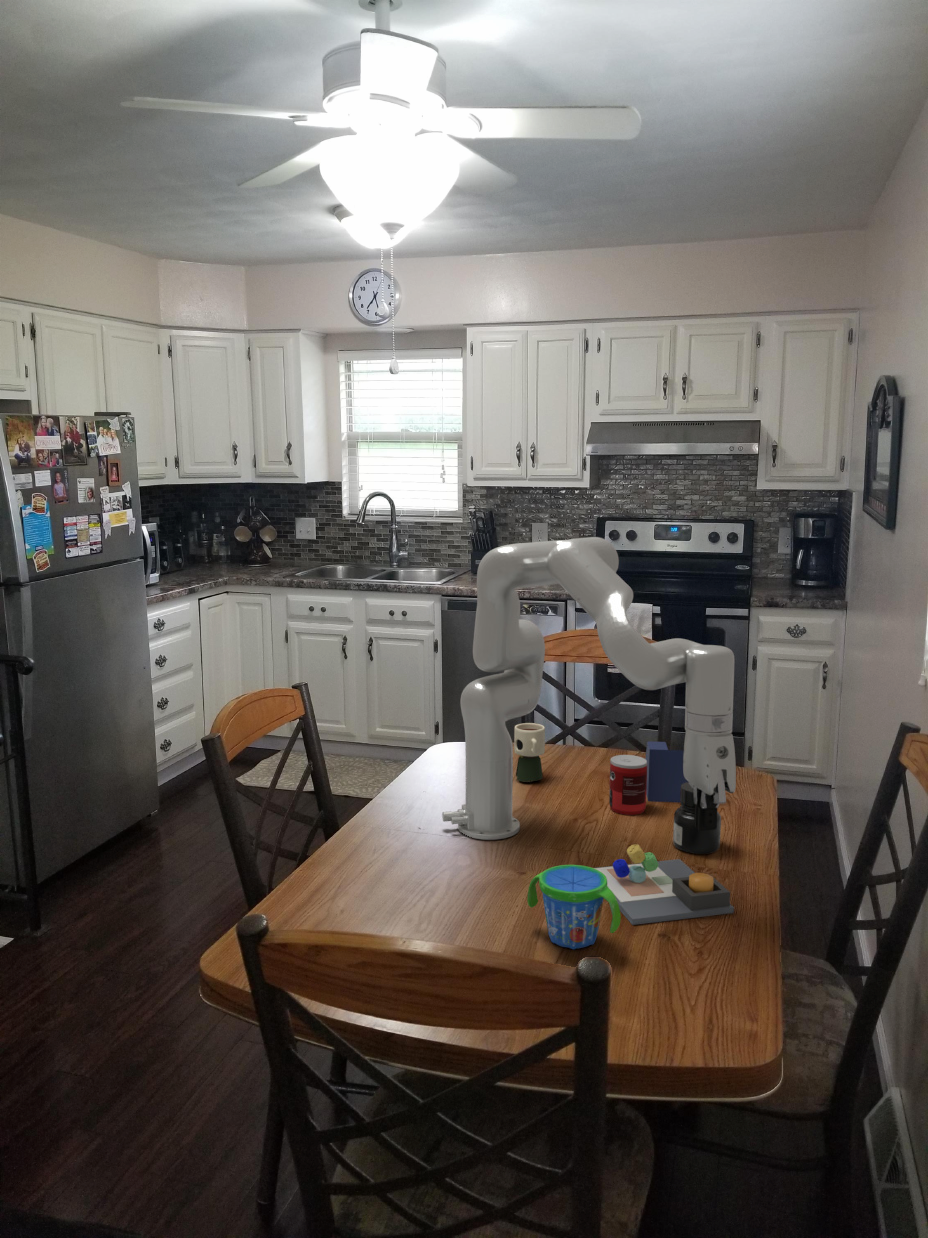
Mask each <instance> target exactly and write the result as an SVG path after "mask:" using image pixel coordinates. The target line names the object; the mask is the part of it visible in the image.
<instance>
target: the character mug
mask: <svg viewBox="0 0 928 1238" xmlns="http://www.w3.org/2000/svg"><path fill="white" fill-rule="evenodd" d="M513 737H514V746H513V749H514V750H513V752H514V753H515V754H517V755H519V756H518V758H517V765H516V769H515V770H516V772H515V778H516V780H517V781H519V782H523V783H524V782H525V783H528V782H529V783H532V782H535V781H541V780H542V779H543V778H544V776H543V768H542V760H541V759H542V758H541V757H540V756H542V755H543V754H545V749H546V748H545V747H546V745H545V744H546V742H545V741H546V740H545V739H546V738H545V737H546V726H544V725H543V724H539V723H533V722H525V723H518V724H516V725H514V736H513Z"/></svg>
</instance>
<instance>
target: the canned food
mask: <svg viewBox="0 0 928 1238" xmlns="http://www.w3.org/2000/svg"><path fill="white" fill-rule="evenodd" d="M609 761H610V763H609V803H608V805H609V808H610V810H611V812H612V811H613V812H614V813H616V814H618V815H619V814H620V815H623V816H624V815H625V816H636V815H641V814H643V813H644V812H645V810H646V807H647V795H646V788H647V760H646V759H645V758H644V757H642V756H638V755H632V754H618V755H615V756H612V757H610V760H609Z"/></svg>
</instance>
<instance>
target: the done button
mask: <svg viewBox="0 0 928 1238" xmlns="http://www.w3.org/2000/svg"><path fill="white" fill-rule="evenodd" d="M710 875H711V874H707V873H703V872H695V873H693V874H691V875H690V876H689V889H690V890H691V891H693V892H694V893H701V892H710V891H713V883H714V878H715V877H714V876H713V875H711V876H710Z"/></svg>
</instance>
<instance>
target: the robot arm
mask: <svg viewBox="0 0 928 1238" xmlns="http://www.w3.org/2000/svg"><path fill="white" fill-rule="evenodd" d="M619 562H620V560H619V554H618V552H617V550H616V548H615V546H613V544H612V543H610V541H608V540H607V539H605V538H603V537H599V536H591V537H579V538H578V537H577V538H571V539H563V540H561V539H560V540H559V539H558V540H547V541H546V540H545V541H535V542H534V541H533V542H520V543H519V542H518V543H512V544H505V545H501V546H498V547H495V548H493V549H491V550H489V551H488V552H487V553H485V555H484V556H483V557H482V559H481V560H480V562H479V564H478V567H477V570H476V571H477V573H476V592H477V596H476V597H477V603H476V610H475V611H476V612H475V621H474V629H473V630H474V631H473V643H472V657H473V661H474V664H475V666H476V667H477V668H478V669H479V670H480V671H483V672H486V673H496V674H491V675H486V676H483V677H480V678H476V679H474V680H473V681H471V682H469V683H468V684H467V685H466V686H465V687H464V688H463V690H462V692H461V695H460V700H459V701H460V710H461V711H460V712H461V716H462V719H463V720H462V721H463V726H464V738H465V740H464V741H465V742H464V743H465V752H464V753H465V804H461V808H460V809H457V811H451V810H450V811H443V812H442V815H441V817H442V822H450V823H451V825H457V829H459V830H458V831H459V832H460V833H461V832H462V833H463V835H464V834H465V835H464V836H466V835H467V836H466V837H468V836H469V837H468V838H471V837H472V838H473V839H476V840H486V841H490V840H491V841H494V840H503V839H507V838H510V837H511V838H512V836H515V835H516V834H518V833H519V831H520V830H521V823H520V821H519V820H518V819H517V818H515V817H514V816H513V782H514V781H513V778H514V777H513V774H514V773H513V769H514V767H513V765H514V762H513V761H514V760H513V759H514V757H513V753H514V750H513V749H514V746H513V740H512V738H511V735H510V733H509V730H508V728H507V725H506V722H508V721H510V720H512V719H513V720H514V719H516V718H520V717H523V716H526V715H528V714H530V713H531V712H533V711H534V710H535V708H536V707H537V705H538V704H539V700H540V697H541V696H540V695H541V690H542V681H543V673H544V663H545V655H546V653H545V652H546V645H545V639H544V635H543V633H542V631H541V629H540V628H539V627H538V625H537V624H536V623H534V622H532V621H530V620H528V619H520V614H521V601H520V597H519V594H518V592H517V589H518V590H519V589H528V588H533V587H534V588H536V587H542V586H543V587H544V586H552V585H560V586H561V588H563V589H564V590H565V592H567V594H568V595H570V596H571V598H572V599H573V600H574V601H575V602H576V603H577V604H578V605H579V606H580V607H581V608H582V609H583V610H584V611H585V612H586V614H588V616H590V617H591V619H592V620H593V621H594V622H595V624H596V631H597V636H598V639H599V642H600V644H601V647H602V650H603V652H604V654H605V656H606V657H607V658H608V660H609V661H610V662H611V664H612V665H613V666H614V667H615V668H616V669H618V671H619V672H620V673H621V674H622V675H623V676H624V678H626V679H627V680H628V681H630V683H632V684H633V685H635V686H636V687H638V688H640V689H643V690H644V691H645V690H646V691H656V690H659V689H663V688H667V687H670V686H673V685H678V684H683V683H685V707H684V708H685V709H684V711H685V713H684V715H685V716H684V730H685V736H684V745H683V750H684V756H683V773H684V777H685V779H686V780H687V781H688V782H689V785H690V786H691V787H692V788H693V792H694V803H695V804H698V805H695V827H696V828H697V829H698V830H700V831H706V830H715V829H716V828H717V812H718V808H720V807H719V806H720V804H721V805H723V804H726V803H727V797H726V795H727V794H726V792H727V793H730V794H733V793H735V791H736V788H737V787H736V786H737V785H736V784H737V782H736V781H737V780H736V778H737V777H736V776H737V775H736V774H737V771H736V753H735V752H736V749H735V743H734V736H733V734H732V733H733V719H734V717H733V716H734V715H733V713H734V711H733V710H734V690H735V689H734V688H735V687H734V686H735V684H734V683H735V681H734V680H735V655H734V652H733V650H732V649H730V648H729V647H726V646H723V645H714V644H702V643H699V642H695V641H693V640H689V639H685V638H678V637H677V638H675V637H674V638H671V639H670V638H669V639H666V640H661V641H656V642H651V643H649V642H648V641H647V640H646V639H645V638H644V637H643V636H642V635H641V634H640V633H639V632H638V631H637V630H636V629H635V627H634V626H633V625H632V623H631V621H630V620H629V618H628V615H627V611H628V609H629V608H630V607H631V605H632V603H633V599H634V591H633V589H632V588H631V586H629V584H627V583H626V582H625V580H623V578H621V576H619V575H618V574H617V571H618V569H619V564H620V563H619ZM497 672H501V673H497ZM462 833H461V834H462Z"/></svg>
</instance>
